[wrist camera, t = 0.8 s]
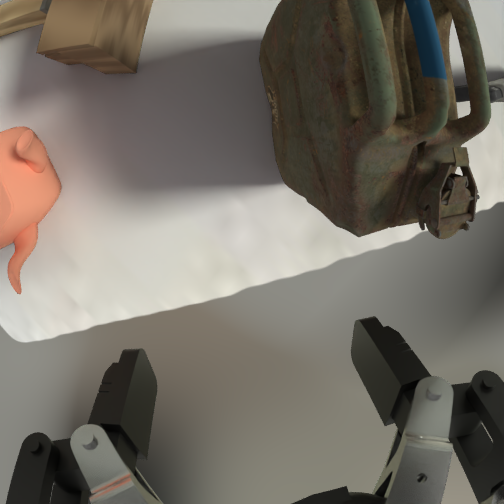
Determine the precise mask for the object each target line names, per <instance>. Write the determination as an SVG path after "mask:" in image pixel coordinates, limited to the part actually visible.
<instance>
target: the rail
mask: <svg viewBox="0 0 504 504" xmlns="http://www.w3.org/2000/svg"><path fill="white" fill-rule="evenodd" d="M51 2H52V0H12V1H10V2H7V3H5V4H3V5H0V37H1V36H4V35H7V34H10V33H13V32H16V31H19V30H22V29H25V28H29V27H32V26H36V25H39V24H43V23H45V20H46V16H47V13H48V10H49V8H50V5H51Z"/></svg>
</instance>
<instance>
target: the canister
mask: <svg viewBox="0 0 504 504" xmlns="http://www.w3.org/2000/svg"><path fill="white" fill-rule="evenodd" d="M452 19H453V21H454V25H455V28H456V32H457V36H458V40H459V44H460V48H461V53H462V57H463V62H464V67H465V73H466V78H467V85H468V91H469V99H470V107H471V112H470V114H469V115H467V116H465V117H462V118H459V119H458V114H457V105H456V97H455V90H454V83H453V77H452V71H451V65H450V56H449V36H450V27H451V22H452ZM259 60H260V65H261V70H262V75H263V80H264V85H265V90H266V93H267V96H268V100H269V102H270V105H271V109H272V135H273V142H274V149H275V157H276V162H277V165H278V167H279V170H280V173H281V176H282V178H283V181H284V182H285V184H286V185H287V186H288V187H289V188H291V189H292V190H293V191H295V192H296V193H298V194H299V195H301V196H303V197H305V198H306V200H307V202H308V203H310V204H311V205H312V206H314V207H315V208H317V209H318V210H319V211H321V212H322V213H323V214H324V215H325V216H326V217H327V218H328V219H329V220H330V221H331V222H332V223H333V224H334V225H335V226H337V227H340V228H343V229H345V230H347V231H349V232H351V233H352V234H354V235H356V236H358V237H361V236H364V235H368V234H371V233H374V232H377V231H380V230H383V229H387V228H388V227H390V228H391V227H396V226H402V225H407V224H412V223H418V222H419V225H420V228H421V229H422V230H425V225H424V223H426V227H427V228H428V230H429V232H430V233H431V234H433V235H434V236H435V237H437V238H439V239H446V238H449V237H451V236H453V235H454V234H456V232H457V231H458V230H460V229H464V230H469V225H468V224H467V223H466V221H470V222H473V221H474V219H475V210H476V202H477V199H479V195H477V193H478V190H477V186H476V183H475V181H474V178H473V175H472V172H471V170H470V167H469V159H468V153H467V148H466V147H461V145H462V144H464V143H465V142H467V141H468V140H470V139H471V138H473V137H474V136H476V135H477V134H479V133H480V132H482V131H483V130H484V129H485V128H486V127H487V125H488V124H489V121H490V118H491V105H490V95H489V88H488V81H487V74H486V68H485V63H484V58H483V53H482V48H481V44H480V39H479V35H478V32H477V28H476V24H475V21H474V17H473V14H472V11H471V7H470V4H469V1H468V0H281V2H280V3H279V4H278V6H277V8H276V10H275V12H274V14H273V16H272V18H271V20H270V22H269V24H268V26H267V28H266V31H265V34H264V37H263V40H262V43H261V48H260V58H259ZM457 167H460V168H461V170H462V173H463V176H461V175H457V174H455V171H456V169H457Z"/></svg>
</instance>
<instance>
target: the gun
mask: <svg viewBox="0 0 504 504" xmlns="http://www.w3.org/2000/svg"><path fill="white" fill-rule="evenodd" d="M488 88H489V95H490V103H493V102H504V78H502V79H498V80H494V81H491V82H488ZM454 90H455V97H456V102H464V101H470V99H469V91H468V85H465V86H458V87H455V88H454Z"/></svg>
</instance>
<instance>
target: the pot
mask: <svg viewBox="0 0 504 504" xmlns="http://www.w3.org/2000/svg"><path fill="white" fill-rule="evenodd" d="M60 192H61V183H60V180H59V178H58V176H57V173H56V171H55V169H54V167H53V165H52V163H51V161H50V159H49V157H48V155H47V151H46V148H45V146H44V144H43V143H42V142H41V140H39V139H38V137H37V135H36V134H35V133H34V132H33V131H32V130H31V129H29V128H27V127H15V128H11V129H8V130H5V131H2V132H0V249H1V248H3V247H6V246H8V245H10V244H11V243H13V242H14V244H15V253H14V255H13V256H12V258H11V259H10V261H9V264H8V277H9V280H10V283H11V285H12V287H13V288H14V290H15V291H16V292H17V293H18V294H21V284H20V270H21V267H22V265H23V263H24V262H25V261H26V259H27V258H28V257H29V255H30V254H31V252H32V251H33V249H34V248H35V246H36V242H37V239H38V227H37V224H38V223H39V222H40V221H41V220H42V219H43V218H44V217H45V215H46V214H47V213H48V212H49V210H50V209H51V208H52V206H53V205H54V203H55V202H56V200H57V199H58V197H59V195H60Z"/></svg>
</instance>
